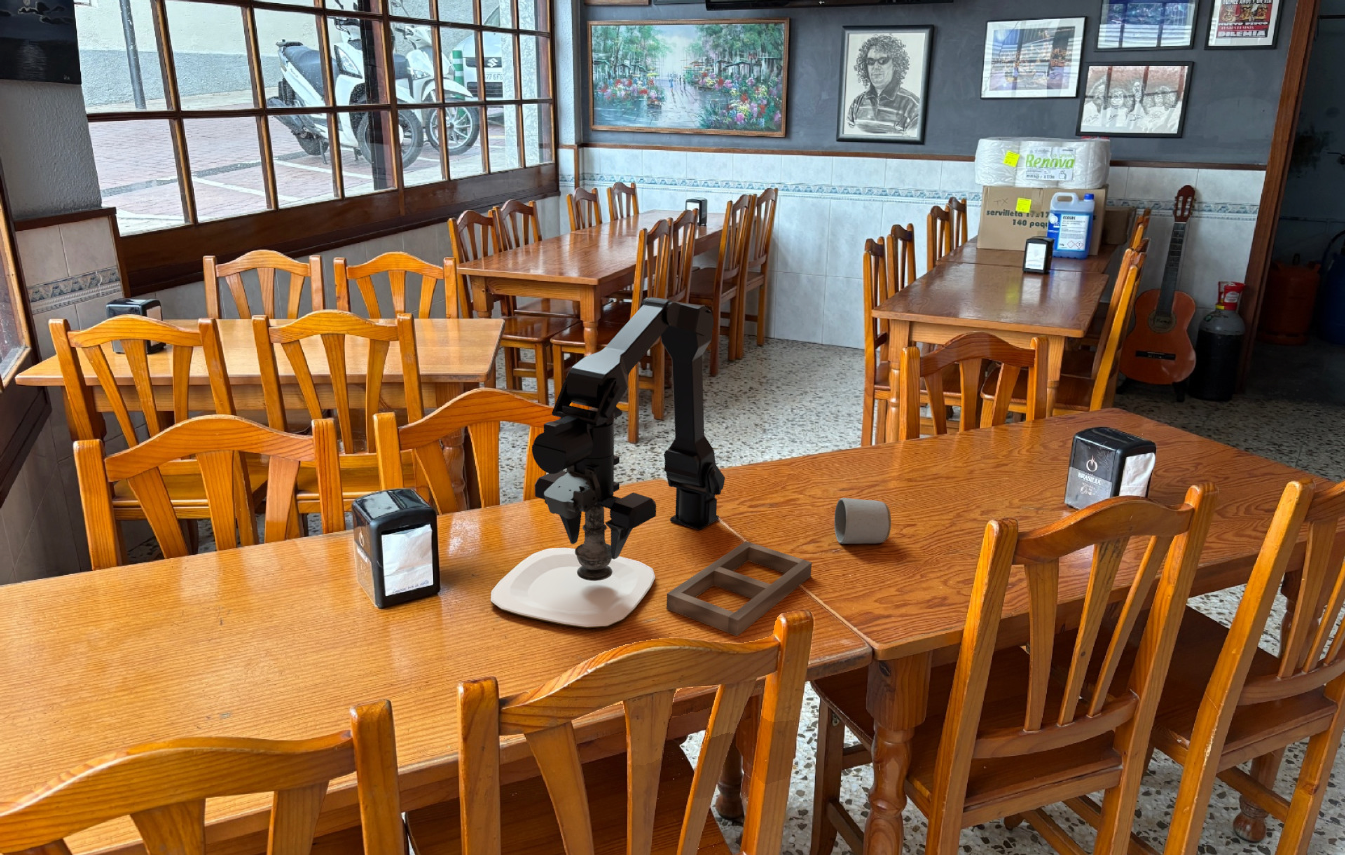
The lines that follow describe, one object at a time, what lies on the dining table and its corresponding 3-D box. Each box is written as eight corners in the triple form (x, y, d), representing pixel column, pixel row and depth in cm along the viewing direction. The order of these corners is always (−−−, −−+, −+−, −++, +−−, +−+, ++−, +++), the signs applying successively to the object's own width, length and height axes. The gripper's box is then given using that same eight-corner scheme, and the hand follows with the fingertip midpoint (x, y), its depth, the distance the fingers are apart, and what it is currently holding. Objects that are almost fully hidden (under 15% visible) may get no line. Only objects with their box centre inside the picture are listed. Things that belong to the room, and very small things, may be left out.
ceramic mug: (891, 550, 153) (895, 507, 151) (843, 551, 152) (847, 508, 150) (871, 524, 163) (875, 484, 161) (826, 525, 162) (830, 484, 160)
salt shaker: (567, 576, 136) (566, 501, 132) (586, 560, 141) (586, 487, 137) (602, 585, 133) (603, 509, 129) (621, 568, 138) (621, 494, 135)
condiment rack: (666, 608, 133) (666, 593, 132) (744, 554, 150) (745, 541, 149) (737, 636, 127) (737, 620, 126) (810, 576, 144) (811, 562, 143)
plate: (667, 573, 144) (667, 564, 144) (614, 644, 125) (614, 633, 124) (542, 550, 151) (542, 541, 150) (473, 613, 131) (473, 603, 131)
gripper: (506, 452, 130) (509, 552, 135) (609, 484, 120) (608, 591, 125) (559, 432, 138) (561, 526, 143) (659, 460, 128) (657, 561, 133)
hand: (594, 550), depth 136 cm, fingers closed on salt shaker, 7 cm apart
